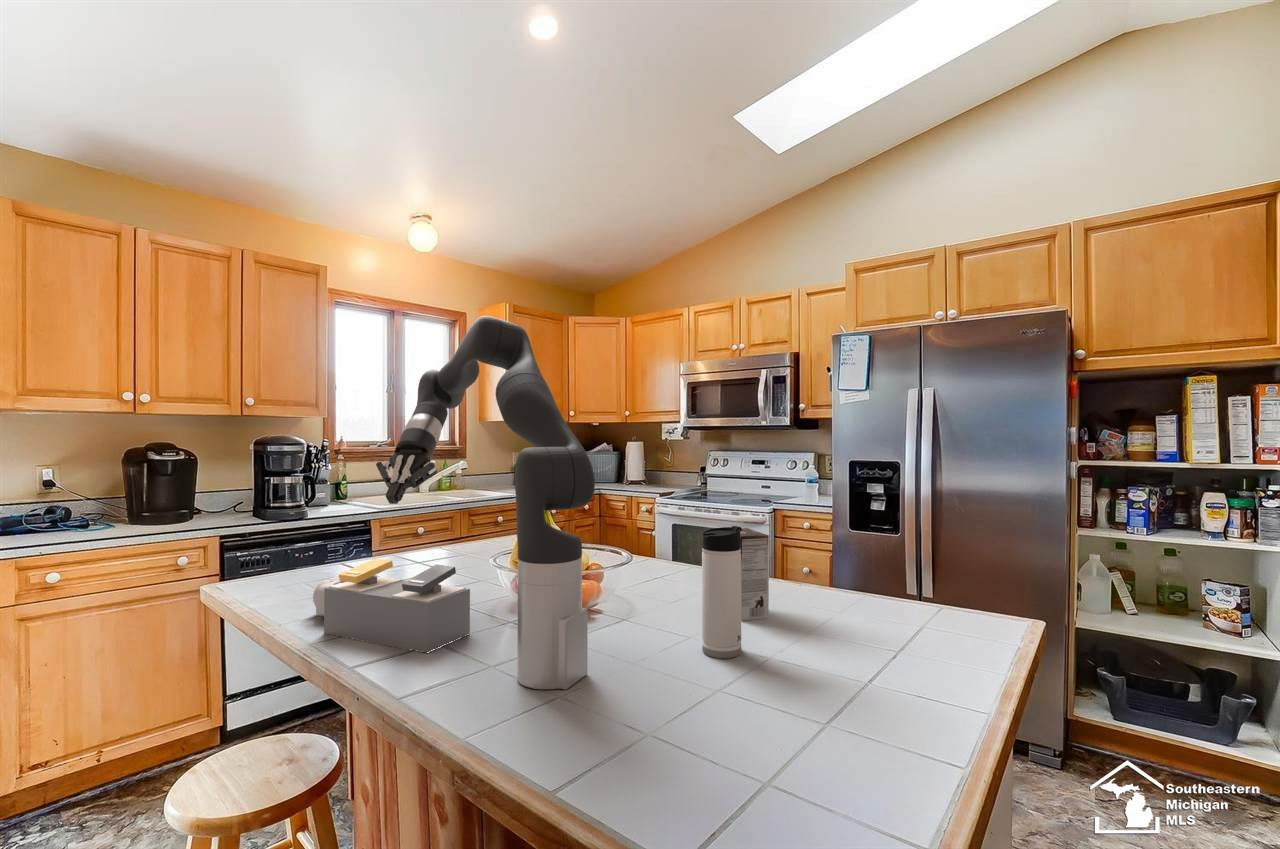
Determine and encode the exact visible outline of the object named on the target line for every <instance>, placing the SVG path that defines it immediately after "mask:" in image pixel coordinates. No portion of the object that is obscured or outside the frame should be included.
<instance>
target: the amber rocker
mask: <svg viewBox="0 0 1280 849" xmlns="http://www.w3.org/2000/svg"><path fill="white" fill-rule="evenodd" d="M393 564H394V563H393V560H390V559H382V558H372V559H370V560H368V561H366V562H364V563H361V564H359V565H356V566H355V567H352V568H349V569H347V570H346V571H343V572H340V573H339V574H338V576H339V581H344V582H351V583H359V582H361V581H363V580H365V579H367V578H370V577H372V576H377V575H378V574H380V573H382V572H385V571H387V570H390V569H391V568H393V567H394V565H393Z"/></svg>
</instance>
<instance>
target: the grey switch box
mask: <svg viewBox="0 0 1280 849" xmlns="http://www.w3.org/2000/svg"><path fill="white" fill-rule="evenodd" d="M406 581H407V579H406V580H404V579H400V578H393V577H386V576H377V575H374V576H372V577H370V578H367V579H365V580H363V581H361V582H359V583H351V582H344V583H339V584H336V585H332V586H329V587H327V588H324V616H323V634H325V635H331V636H334V635H336V637H339V636H341V637H340V638H345V637H347V638H346V639H350V638H354V639H353V640H355V639H358V640H357V641H360V640H363V641H362V642H365V641H368V642H367V643H370V642H372V643H371V644H376V643H377V644H376V645H381V644H382V646H386V645H387V647H391V646H392V648H396V647H397V648H398V649H402V648H405V649H404V650H407V649H412V650H418V651H423V652H429V651H431V650H433V649H436V648H438V647H440V646H442V645H444V644H447V643H449V642H451V641H454V640H456V639H458V638H460V637H463V636H465V635H467V634H469V633H471V628H470V627H471V625H470V624H471V623H470V622H471V588H466V587H462V586H457V585H448V584H447V585H446V584H440V583H439V584H437V585H436V586H434V587H433V588H431V589H429V590H428V591H426V592H424V593H417V592H410V591H403V588H402V583H404V582H406ZM465 637H466V636H465ZM463 638H464V637H463ZM454 642H455V641H454ZM412 650H411V651H412Z"/></svg>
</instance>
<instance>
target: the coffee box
mask: <svg viewBox="0 0 1280 849" xmlns="http://www.w3.org/2000/svg"><path fill="white" fill-rule="evenodd" d="M741 528H742V527H741ZM769 536H770V535H769V534H766V533H763V532H759V531H757V530H754V529H750V528H748V527H746V528H745V527H744V528H742V531H740V548H741V552H740V553H741V622H743V621H745V622H746V621H753V620H762V619H769V616H770V615H769V614H770V613H769V599H770V598H769V587H770V586H769V576H770V574H769V573H770V572H769V570H770V567H769V565H770V563H769V562H770V560H769V558H770V556H769V555H770V552H769V551H770V543H769V542H770V540H769V538H770V537H769Z"/></svg>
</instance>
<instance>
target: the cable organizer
mask: <svg viewBox="0 0 1280 849" xmlns="http://www.w3.org/2000/svg"><path fill="white" fill-rule="evenodd" d="M340 583H344V581H339V575H337V576H334V577H331V578H328V579H325V580H323V581H321V582H320V583H319V584H318V585H317V586H316V587H315V589H314V590H313V593H312V601H313V604H314V607H315V615H317V616H318V617H319V616H320V617H324V588H327V587H329V586H332V585H336V584H340Z"/></svg>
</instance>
